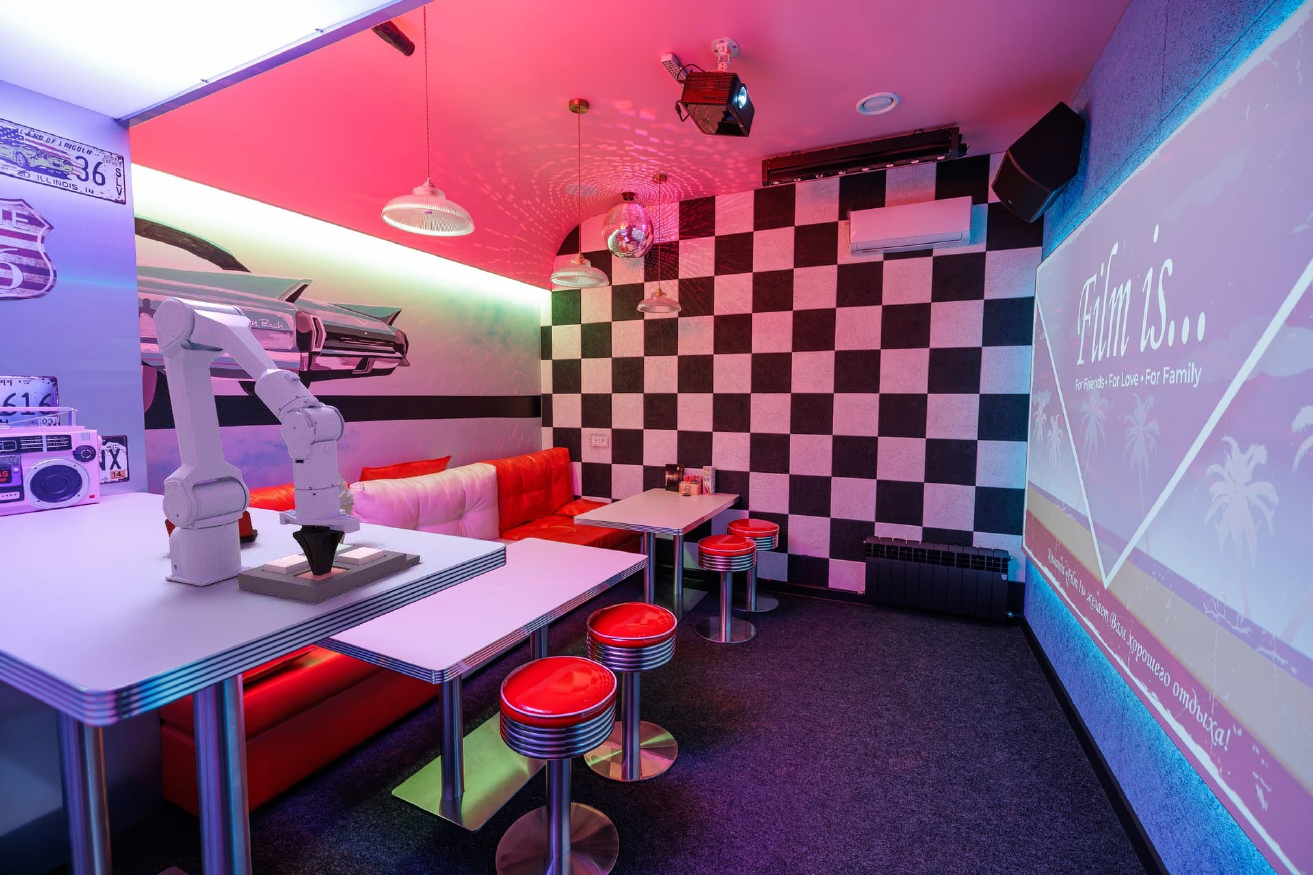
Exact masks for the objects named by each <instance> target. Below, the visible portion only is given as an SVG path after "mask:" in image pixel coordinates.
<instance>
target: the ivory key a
mask: <svg viewBox="0 0 1313 875" xmlns="http://www.w3.org/2000/svg"><path fill="white" fill-rule="evenodd" d="M263 565H264V571H267V572H272V573H278V574H283V575H286V574H289V573H292V572H295V571H298V570H301V569H304V568H307V567H310V566H309V563H308V560H307V558H306V556H300V555H298V554H292V555H288V556H285V557H281V558H278V559H274V560H271V561H268V562H265V563H263Z"/></svg>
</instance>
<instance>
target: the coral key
mask: <svg viewBox="0 0 1313 875" xmlns="http://www.w3.org/2000/svg"><path fill="white" fill-rule="evenodd" d="M344 571H346V570H344V569H338V568H332V569H331V572H329V573H326V574H323V575H321V576H317V575H313V573H312V571H310V572H307V573H304V574H302V575H299V576H296V577H300V578H305V579H311V580H316V581H319V580H322V579H324V578H327V577H330V576H333V575H335V574H338V573H341V572H344Z"/></svg>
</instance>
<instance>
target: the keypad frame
mask: <svg viewBox="0 0 1313 875" xmlns="http://www.w3.org/2000/svg"><path fill="white" fill-rule="evenodd" d="M343 544H344V543H343ZM344 545H346V544H344ZM350 545H351V544H350ZM351 546H353V550H355V549H358V548H361V547H362V546H360V545H359V546H357V545H351ZM364 547H365V546H364ZM365 548H367V547H365ZM371 548H372V547H371ZM372 549H375V548H372ZM379 550H381V549H380V548H379ZM383 550H384V557H382V558H379V559H377V560H374V561H371V562H368V563H366V564H363V565H360V566H357V565H351V564H344V563H338V559H337V558H334V561H333V565H332V568H338V569H344V570H346V571H344V572H341V573H338V574H335V575H333V576H330V577H327V578H324V579H322V580H319V581H316V580H311V579H305V578H300V577H296V576H299V575H302V574H304V573H307V572H310V571H311V568H310V567H307V568H304V569H301V570H298V571H295V572H292V573H289V574H286V575H283V574H278V573H272V572H267V571H264V564H262V565H259V566H256V567H254V568H252V569H249V570H246V571H242V572H239V573H237V574H238V575H237V584H238V588H237V589H238V590H243V591H249V592H251V593H252V592H253V593H258V594H262V595H263V594H264V595H267V596H273V597H279V598H281V599H282V598H283V599H287V600H293V601H298V602H303V603H307V604H313V605H318V604H320V603H323V602H325V601H328V600H330V599H332V598H336V597H337V596H340V595H342V594H345V593H347V592H348V593H349V592H350V591H352V590H355V589H357V588H360V587H363V586H365V585H367V584H369V583H373V582H374V581H376V580H377V581H378V580H379V579H381V578H384V577H387V576H390V575H393V574H395V573H397V572H399V571H401V570H404V569H407V568H409V567H411V566H410V565H412V566H413V564H414V565H416V564H415V563H417V564H419V563H420V562H421V556H420V555H418V554H412V553H406V552H400V551H394V550H386V549H383ZM297 555H300V556H306V555H305V553H304V552H303V553H299V554H297ZM419 561H420V562H419ZM418 562H419V563H418ZM406 567H407V568H406Z"/></svg>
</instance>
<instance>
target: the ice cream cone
mask: <svg viewBox="0 0 1313 875" xmlns="http://www.w3.org/2000/svg"><path fill="white" fill-rule="evenodd" d="M338 479H339V498H340V509H343V510H346V514H348V515H350V516H351V515H352V514H351V513H352V510H353V505H354V503H355V498H354V496H355V495H354V494H355V493H354V492H353V491H352V490H351V489H350V488H349V487H348V485H347V483H348V482H347V481H346V480H345V479H344V478H343V477H342V474H341V472H340V471H339V469H338ZM346 534H347V533H344V535H343V536H342V538H341V540H340V542H339V544H344V540H345V538H346Z"/></svg>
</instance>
